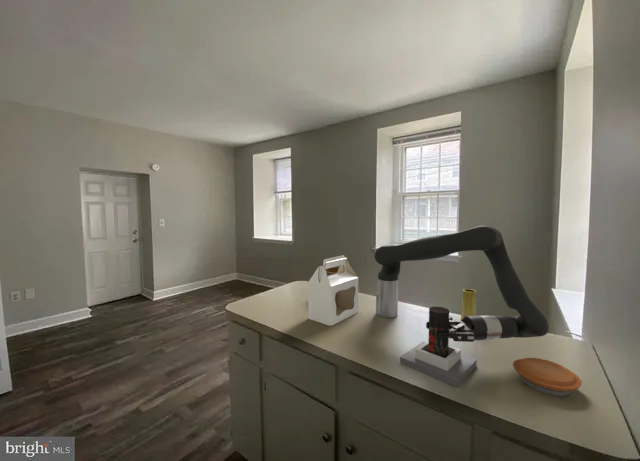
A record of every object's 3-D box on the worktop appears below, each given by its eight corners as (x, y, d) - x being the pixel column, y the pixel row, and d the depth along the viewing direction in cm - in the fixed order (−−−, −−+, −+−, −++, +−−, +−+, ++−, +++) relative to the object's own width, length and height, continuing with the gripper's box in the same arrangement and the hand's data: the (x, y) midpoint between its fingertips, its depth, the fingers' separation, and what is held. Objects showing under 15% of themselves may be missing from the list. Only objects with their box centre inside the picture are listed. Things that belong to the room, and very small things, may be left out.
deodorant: (450, 360, 90) (451, 313, 89) (430, 358, 91) (430, 312, 90) (445, 351, 96) (446, 307, 95) (427, 349, 97) (427, 306, 96)
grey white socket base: (399, 362, 95) (400, 348, 94) (423, 346, 106) (423, 333, 105) (456, 387, 82) (457, 370, 81) (476, 365, 93) (476, 350, 92)
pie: (595, 395, 78) (596, 377, 78) (554, 407, 74) (555, 388, 73) (537, 365, 93) (538, 350, 92) (500, 373, 88) (501, 358, 88)
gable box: (330, 326, 124) (330, 262, 122) (307, 319, 133) (307, 258, 130) (358, 312, 141) (359, 255, 139) (337, 306, 149) (337, 252, 147)
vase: (463, 318, 133) (464, 287, 131) (478, 321, 128) (479, 290, 127) (458, 321, 128) (459, 290, 127) (473, 325, 124) (474, 293, 123)
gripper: (469, 308, 101) (421, 310, 100) (496, 325, 86) (442, 327, 85) (468, 329, 101) (421, 331, 100) (495, 349, 87) (441, 352, 86)
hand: (431, 329), depth 93 cm, fingers closed on deodorant, 6 cm apart
